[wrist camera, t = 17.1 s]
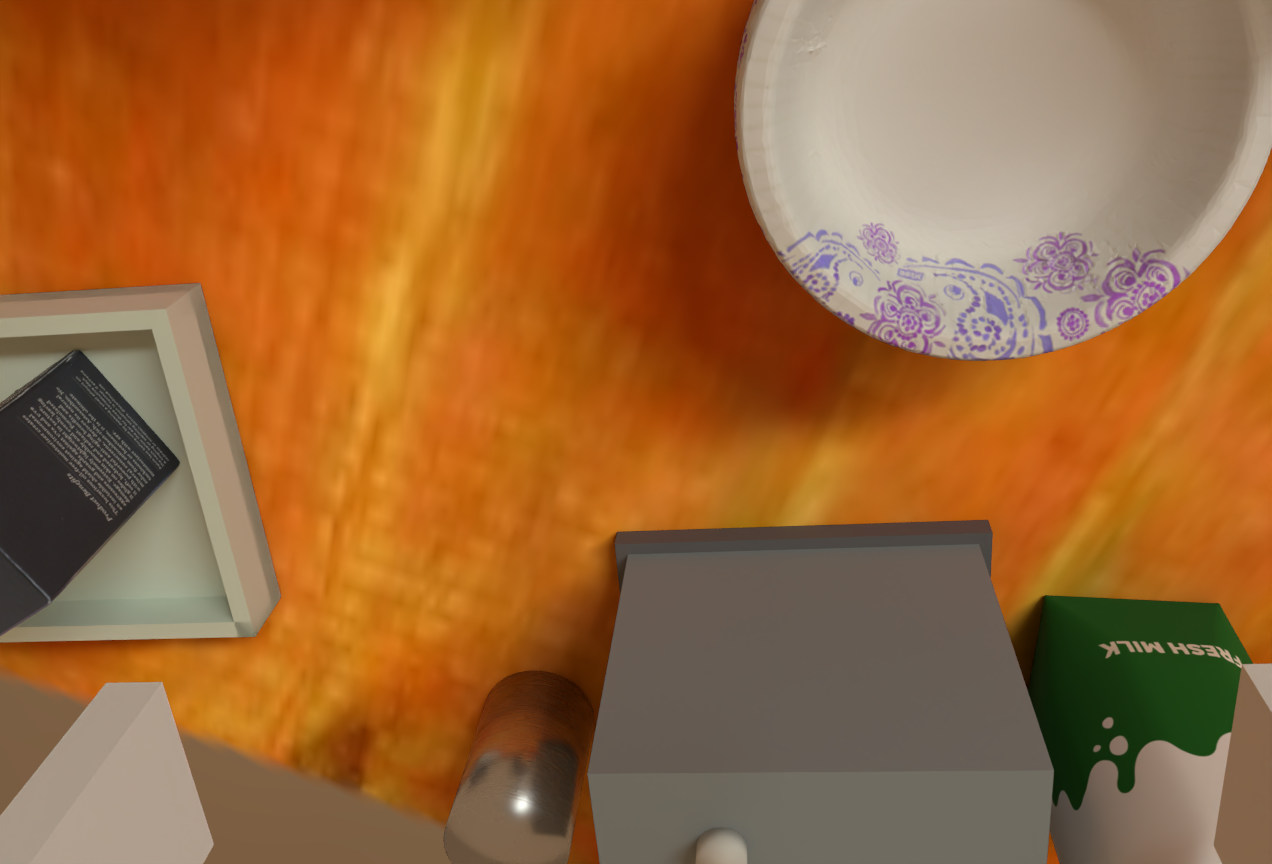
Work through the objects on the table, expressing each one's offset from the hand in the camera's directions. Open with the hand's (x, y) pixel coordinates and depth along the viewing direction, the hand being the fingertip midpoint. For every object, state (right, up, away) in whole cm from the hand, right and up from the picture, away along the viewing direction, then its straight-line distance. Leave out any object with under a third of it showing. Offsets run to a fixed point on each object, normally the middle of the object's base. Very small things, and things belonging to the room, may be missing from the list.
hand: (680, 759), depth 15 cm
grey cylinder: (-5, -9, +39) cm, 40 cm away
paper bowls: (+11, +16, +26) cm, 32 cm away
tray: (-25, +3, +35) cm, 43 cm away
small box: (-25, +3, +35) cm, 43 cm away
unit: (+7, -5, +36) cm, 37 cm away
